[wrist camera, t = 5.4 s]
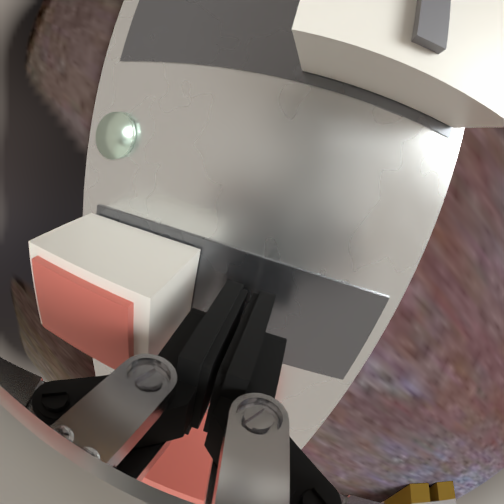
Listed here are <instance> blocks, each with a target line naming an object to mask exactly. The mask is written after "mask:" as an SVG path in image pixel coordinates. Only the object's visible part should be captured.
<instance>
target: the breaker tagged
mask: <svg viewBox="0 0 504 504" xmlns="http://www.w3.org/2000/svg"><path fill="white" fill-rule="evenodd" d="M200 251H201V249H198V248H195V247H192V246H189V245H186V244H183V243H180V242H177V241H174V240H171V239H168V238H165V237H162V236H159V235H156V234H153V233H150V232H147V231H144V230H141V229H138V228H135V227H132V226H129V225H126V224H123V223H120V222H117V221H114V220H111V219H108V218H106V217H103V216H100V215H97V214H94V213H90V214H88V215H85V216H83V217H81V218H78V219H76V220H74V221H71V222H69V223H67V224H64V225H62V226H60V227H58V228H55V229H53V230H51V231H49V232H47V233H45V234H43V235H40V236H38V237H36V238H34V239H32V240H30V241H29V252H30V261H31V270H32V277H33V283H34V289H35V295H36V301H37V306H38V311H39V316H40V320H41V324H42V325H43V327H45V328H46V329H47V330H49V331H50V332H52V333H53V334H55V335H56V336H58V337H60V338H61V339H63V340H64V341H66V342H67V343H69V344H71V345H72V346H74V347H75V348H77V349H79V350H80V351H82V352H84V353H86V354H87V355H89V356H91V357H92V358H94V359H96V360H98V361H100V362H101V363H103V364H105V365H107V366H109V367H111V368H112V369H114V370H115V369H116V368H118V367H119V366H120V365H121V364H122V363H123V362H125V361H126V360H127V359H129V358H130V357H132V356H135V355H138V354H153V355H158V354H159V353H160V351H161V350H162V348H163V347H164V346H165V344H166V343H167V342H168V340H169V339H170V338H171V336H172V335H173V333H174V332H175V331H176V329H177V328H178V327H179V325H180V324H181V322H182V321H183V320H184V318H185V317H186V316H187V314H188V313H189V312H190V310H191V303H192V297H193V291H194V285H195V279H196V273H197V268H198V262H199V257H200Z"/></svg>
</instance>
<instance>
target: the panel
mask: <svg viewBox="0 0 504 504" xmlns="http://www.w3.org/2000/svg"><path fill="white" fill-rule="evenodd" d="M299 2H300V0H124V2H123V4H122V7H121V10H120V13H119V16H118V18H117V21H116V24H115V27H114V30H113V34H112V37H111V40H110V43H109V47H108V50H107V54H106V58H105V61H104V65H103V69H102V73H101V78H100V82H99V86H98V91H97V96H96V101H95V106H94V112H93V117H92V123H91V130H90V137H89V144H88V152H87V161H86V171H85V185H84V201H83V216H85V215H88V214H90V213H94V214H97V215H100V216H103V217H106V218H108V219H111V220H114V221H117V222H120V223H123V224H126V225H129V226H132V227H135V228H138V229H141V230H144V231H147V232H150V233H153V234H156V235H159V236H162V237H165V238H168V239H171V240H174V241H177V242H180V243H183V244H186V245H189V246H192V247H195V248H198V249H201V251H200V257H199V262H198V268H197V273H196V279H195V285H194V291H193V297H192V303H191V309H192V308H196V309H198V310H201V311H204V312H207V311H208V309H209V308H210V306H211V305H212V303H213V301H214V300H215V298H216V297H217V295H218V294H219V292H220V291H221V289H222V288H223V286H224V285H225V283H226V281H227V280H231V281H235V282H238V283H241V284H244V287H243V289H245V290H248V295H247V299H246V303H245V306H244V310H243V313H242V316H243V314H244V312H245V310H246V307H247V305H248V303H249V301H250V298H251V296H252V294H253V292H255V293H258V294H259V293H260V291H261V290H262V291H266V292H269V293H272V294H275V295H276V298H275V301H274V305H273V308H272V312H271V315H270V318H269V322H268V325H267V328H266V332H267V333H270V334H273V335H276V336H279V337H283V338H286V339H287V343H286V348H285V353H284V358H283V363H282V368H281V372H280V377H279V382H278V386H277V391H276V396H275V399H276V400H278V401H279V402H280V403H281V404H282V405H283V406H284V407H285V409H286V411H287V412H288V416H289V436H290V437H291V439H292V440H293V441H294V442H295V443H296V445H297V446H298V447H299V448H300V449H302V448H303V447H304V446H305V444H306V443H307V442H308V441H309V440H310V438H311V437H312V436H313V435H314V433H315V432H316V431H317V430H318V428H319V427H320V426H321V425H322V423H323V422H324V421H325V419H326V418H327V417H328V415H329V414H330V413H331V411H332V410H333V409H334V407H335V406H336V405H337V403H338V402H339V400H340V399H341V398H342V396H343V395H344V393H345V392H346V391H347V389H348V388H349V386H350V385H351V383H352V382H353V380H354V379H355V377H356V376H357V374H358V373H359V371H360V370H361V368H362V367H363V365H364V363H365V362H366V360H367V359H368V357H369V355H370V354H371V352H372V351H373V349H374V347H375V346H376V344H377V342H378V341H379V339H380V337H381V335H382V334H383V332H384V330H385V328H386V327H387V325H388V323H389V321H390V319H391V318H392V316H393V314H394V312H395V310H396V308H397V306H398V305H399V303H400V301H401V299H402V297H403V295H404V293H405V291H406V289H407V287H408V285H409V283H410V281H411V279H412V276H413V274H414V272H415V270H416V268H417V266H418V263H419V261H420V259H421V257H422V254H423V252H424V250H425V247H426V245H427V243H428V240H429V238H430V235H431V233H432V230H433V228H434V225H435V223H436V220H437V218H438V215H439V212H440V209H441V207H442V204H443V201H444V198H445V195H446V192H447V189H448V186H449V183H450V180H451V177H452V173H453V170H454V167H455V163H456V160H457V156H458V153H459V149H460V145H461V141H462V137H463V133H464V129H465V128H452V127H450V126H448V125H447V124H445V123H443V122H441V121H439V120H437V119H435V118H433V117H430V116H428V115H426V114H424V113H422V112H420V111H418V110H415V109H413V108H411V107H409V106H406V105H404V104H402V103H399V102H397V101H394V100H392V99H389V98H387V97H384V96H382V95H379V94H376V93H374V92H371V91H368V90H365V89H362V88H359V87H357V86H354V85H350V84H347V83H344V82H341V81H338V80H334V79H331V78H328V77H324V76H320V75H317V74H313V73H309V72H305V71H302V69H301V64H300V60H299V56H298V52H297V48H296V44H295V40H294V36H293V33H292V26H293V23H294V19H295V16H296V12H297V9H298V5H299ZM241 319H242V317H241ZM93 364H94V370H95V375H96V376H103V375H110V374H111V373H112V372H113V371H114V369H112V368H111V367H109V366H107V365H105V364H103V363H101V362H100V361H98V360H96V359H94V358H93ZM209 405H210V404H209ZM208 409H209V406H208V408H207V410H206V414H207V413H208Z"/></svg>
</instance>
